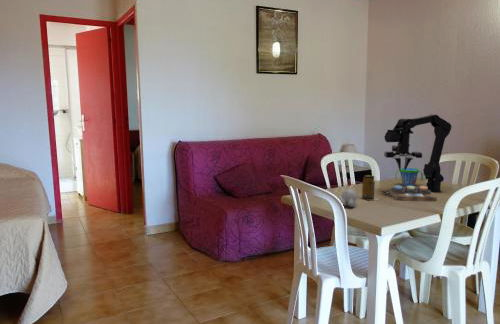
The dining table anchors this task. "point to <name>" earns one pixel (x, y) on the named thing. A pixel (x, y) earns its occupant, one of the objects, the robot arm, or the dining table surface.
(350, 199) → the round bodied animal figurine
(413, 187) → the sage button
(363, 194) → the condiment
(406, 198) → the console
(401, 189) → the slate blue button
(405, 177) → the snack cup
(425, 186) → the terracotta button
